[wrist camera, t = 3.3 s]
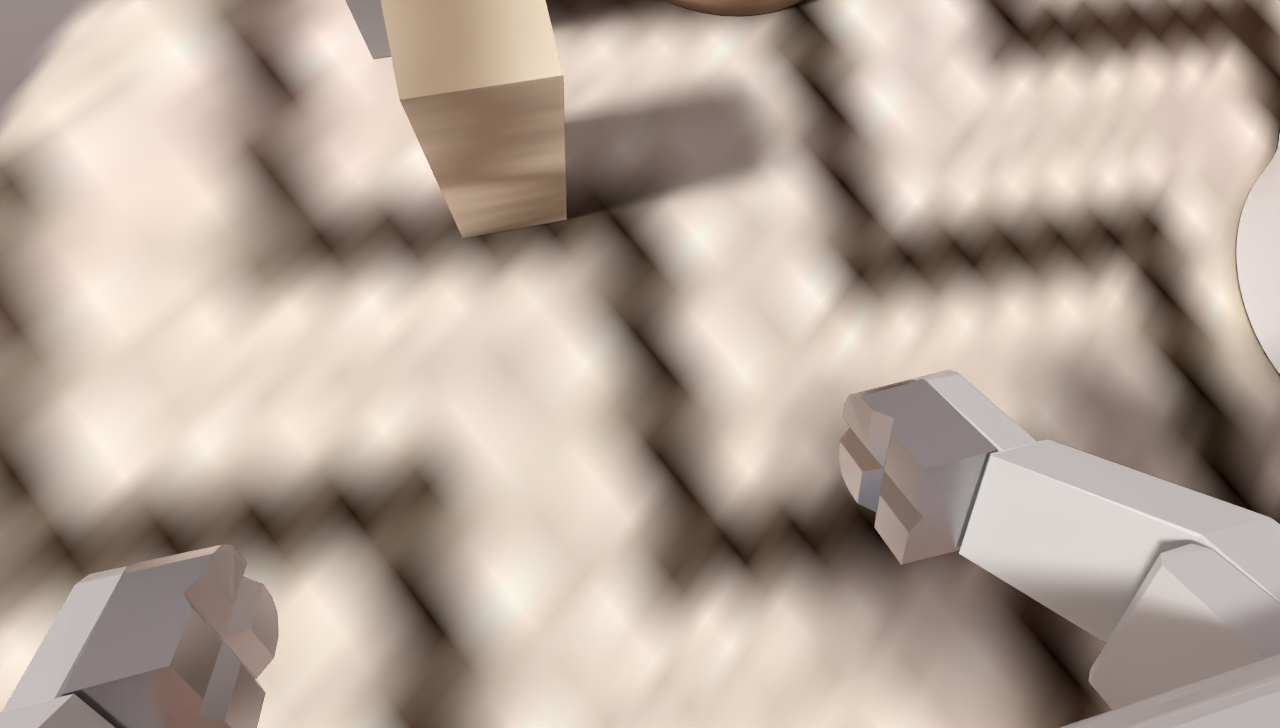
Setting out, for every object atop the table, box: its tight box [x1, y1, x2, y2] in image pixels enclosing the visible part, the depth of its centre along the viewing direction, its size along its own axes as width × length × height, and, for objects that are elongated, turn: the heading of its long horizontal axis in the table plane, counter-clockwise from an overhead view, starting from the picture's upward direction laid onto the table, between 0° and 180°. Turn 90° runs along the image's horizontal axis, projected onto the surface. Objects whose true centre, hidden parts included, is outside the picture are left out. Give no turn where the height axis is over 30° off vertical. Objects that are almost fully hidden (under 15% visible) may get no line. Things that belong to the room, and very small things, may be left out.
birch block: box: [381, 0, 567, 239], centre depth 20 cm, size 4×4×9 cm
